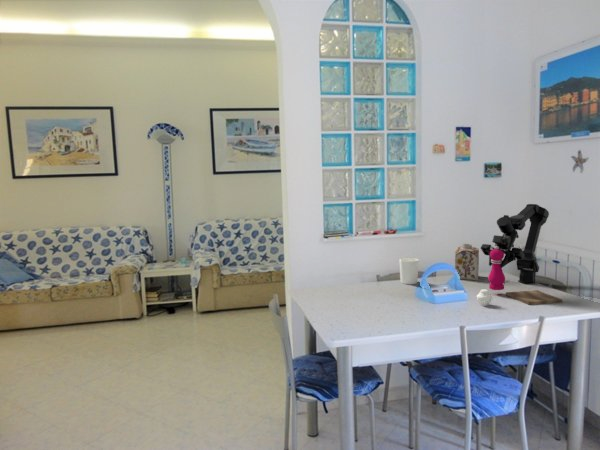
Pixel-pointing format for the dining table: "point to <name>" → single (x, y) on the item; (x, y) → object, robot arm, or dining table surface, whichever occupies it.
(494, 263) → the pepper mill
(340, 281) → the dining table surface
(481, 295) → the white rounded lump
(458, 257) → the decorative jar
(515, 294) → the walnut board
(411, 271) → the candle holder
